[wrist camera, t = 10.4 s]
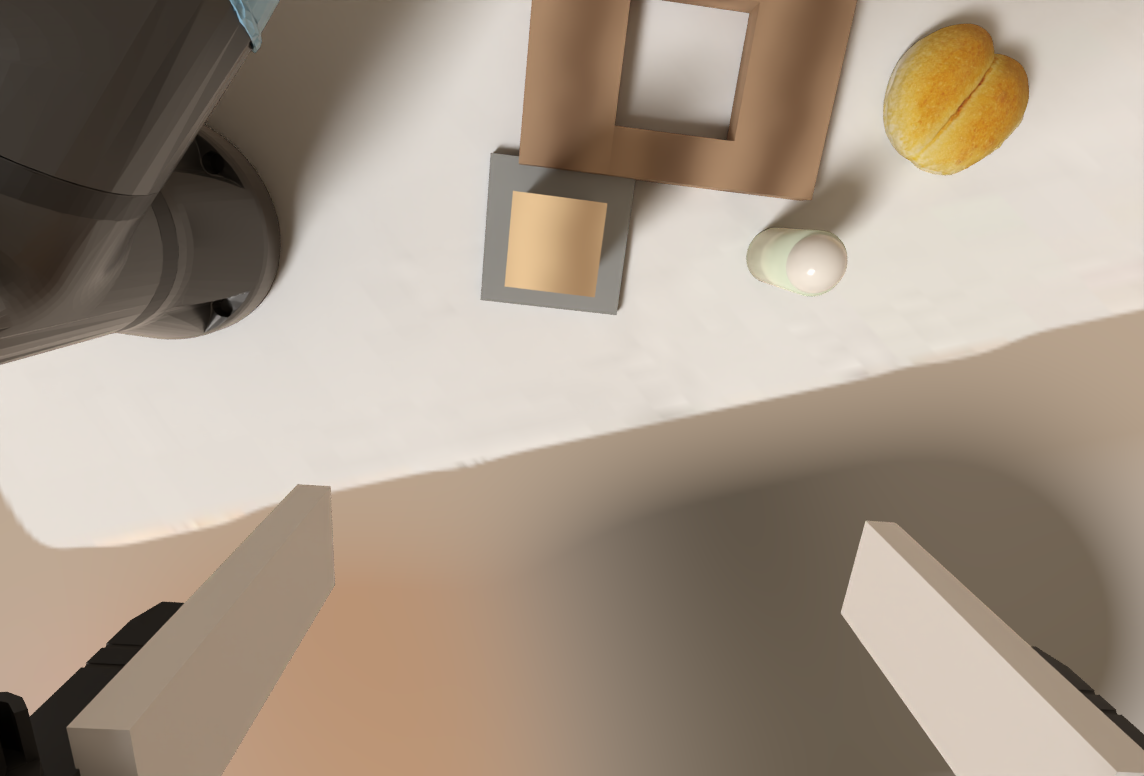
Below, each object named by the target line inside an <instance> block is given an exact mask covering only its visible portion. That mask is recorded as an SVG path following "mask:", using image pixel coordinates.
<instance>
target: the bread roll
mask: <svg viewBox="0 0 1144 776" xmlns="http://www.w3.org/2000/svg"><path fill="white" fill-rule="evenodd" d="M1028 99H1029V85H1028V78H1027V74H1026V72H1025V70H1024V68H1023V67H1022V65H1021V64H1020V63H1019V62H1017V61H1016V60H1014V59H1012V58H1010V57H1008V56H1005V55H1002V54H994V47H993V41H992V38H991V36H990V34H989V33H988V32H987V31H986V30H985V29H983V28H982V27H980V26H978V25H974V24H958V25H952V26H948V27H945V28H942V29H940V30H938V31H936V32H933V33H932V34H930V35H928V36H926V37H924V38H923V39H921V40H919V41H918V42H917V43H915V44H914V45H913V46H912V47H911V48H909V49H908V51H907V52H906V53H905V54H904V55H903V56H902V58H901V59H900V60H899V61H898V63H897V65H896V67H895V68H894V70H893V72H892V74H891V77H890V79H889V83H888V86H887V89H886V93H885V99H884V108H883V121H884V126H885V131H886V134H887V136H888V138H889V140H890V142H891V143H892V145H893V147H894V148H895V149H896V150H897V152H898V153H899V154H900V155H902V156H903V157H905V158H907V159H908V160H910V161H911V162H912V163H913V164H914V165H915V166H916V167H918V168H919V169H921V170H923V171H926V172H929V173H932V174H938V175H952V174H955V173H957V172H960V171H961V170H964V169H966V168H968V167H969V166H971V165H973V164H975V163H976V162H978V161H980V160H981V159H983V158H985V157H986V156H987V155H989V154H991V153H992V152H993V151H994V150H996V149H998V148H999V147H1000V146H1001V145H1002V143H1003V142H1004V140H1006V139H1007V138H1008V137H1009V136H1010V135H1011V134H1012V132H1013V131H1014V130H1015V129H1016V128H1017V127H1018V126H1019V124H1020V123H1021V121H1022V120H1023V117H1024V112H1025V110H1026V107H1027V103H1028Z"/></svg>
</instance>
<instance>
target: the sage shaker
mask: <svg viewBox="0 0 1144 776" xmlns="http://www.w3.org/2000/svg"><path fill="white" fill-rule="evenodd" d="M746 260H747V266H748V269H749V271H750V272H751V274H752V275H753V276H754V277H755V278H756V279H758V280H759V281H761V282H764V283H767V284H770V285H773V286H776V287H779V288H782V289H785V290H788V291H791V292H794V293H797V294H800V295H803V296H818V295H822V294H824V293H826V292H828V291H830V290H831V289H833V288H834V287H835V286H836V285H837V284H838V283H839V281H840V280H841V279H842V277H843V275H844V274H845V271H846V268H847V252H846V249H845V246H844V244H843V243H842V241H841V240H840V239H839V238H838V237H837V236H836V235H834V234H832V233H830V232H827V231H822V230H807V229H791V228H770V229H766V230H764V231H762V232H761V233H759V234H758V235H757V236H756V237H755V238H754V239H753V240H752V242H751V243H750V245H749V248H748V251H747V256H746Z"/></svg>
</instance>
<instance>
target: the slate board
mask: <svg viewBox="0 0 1144 776" xmlns="http://www.w3.org/2000/svg"><path fill="white" fill-rule="evenodd" d="M635 180H636V179H631V178H623V177H615V176H607V175H599V174H591V173H583V172H576V171H568V170H560V169H552V168H544V167H536V166H528V165H520V164H519V156H512V155H504V154H496V153H491V158H490V172H489V187H488V202H487V216H486V231H485V245H484V260H483V274H482V289H481V300H486V301H495V302H504V303H513V304H522V305H531V306H539V307H548V308H557V309H566V310H575V311H584V312H593V313H602V314H611V315H617V308H618V301H619V294H620V287H621V279H622V272H623V265H624V258H625V251H626V244H627V237H628V229H629V222H630V215H631V208H632V201H633V194H634V187H635ZM513 191H518V192H526V193H533V194H541V195H549V196H556V197H564V198H571V199H579V200H587V201H594V202H602V203H607V210H606V218H605V225H604V232H603V240H602V247H601V255H600V262H599V269H598V277H597V284H596V292H595V297H587V296H579V295H571V294H563V293H554V292H546V291H538V290H530V289H521V288H513V287H505V276H506V265H507V253H508V242H509V231H510V219H511V208H512V197H513Z"/></svg>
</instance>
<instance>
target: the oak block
mask: <svg viewBox="0 0 1144 776" xmlns="http://www.w3.org/2000/svg"><path fill="white" fill-rule="evenodd" d="M606 210H607V203H602V202H594V201H587V200H579V199H571V198H564V197H556V196H549V195H541V194H533V193H526V192H518V191H513V197H512V208H511V219H510V231H509V242H508V253H507V265H506V276H505V287H513V288H521V289H530V290H538V291H546V292H554V293H563V294H571V295H579V296H587V297H595V292H596V284H597V277H598V269H599V262H600V255H601V247H602V240H603V232H604V225H605V218H606Z"/></svg>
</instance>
